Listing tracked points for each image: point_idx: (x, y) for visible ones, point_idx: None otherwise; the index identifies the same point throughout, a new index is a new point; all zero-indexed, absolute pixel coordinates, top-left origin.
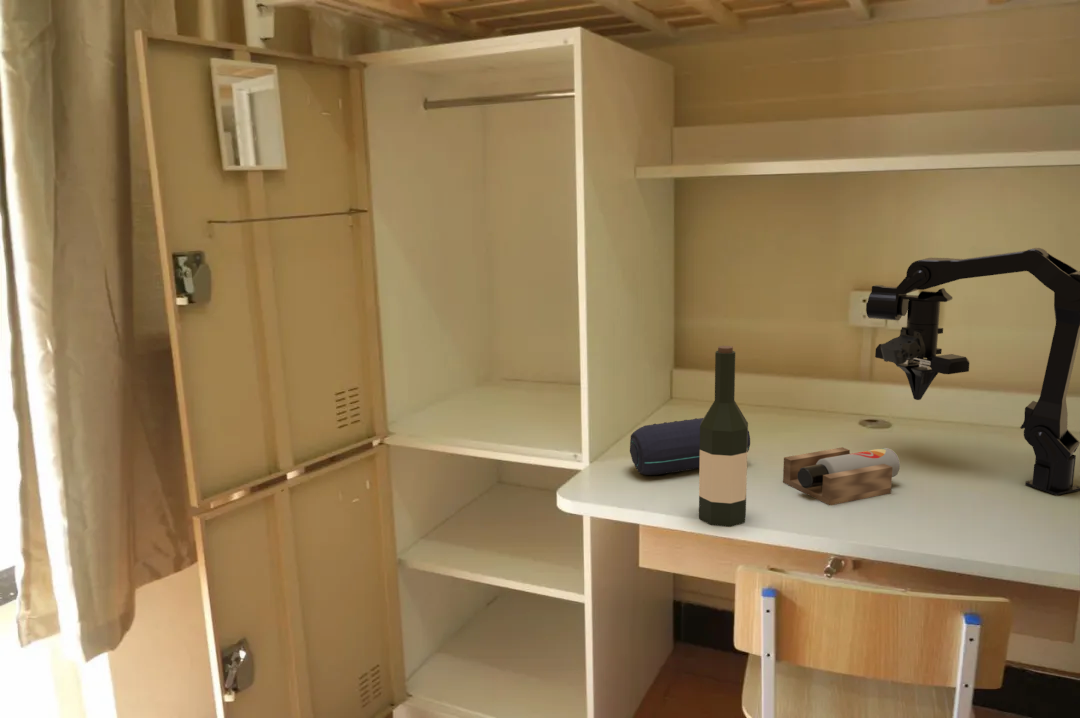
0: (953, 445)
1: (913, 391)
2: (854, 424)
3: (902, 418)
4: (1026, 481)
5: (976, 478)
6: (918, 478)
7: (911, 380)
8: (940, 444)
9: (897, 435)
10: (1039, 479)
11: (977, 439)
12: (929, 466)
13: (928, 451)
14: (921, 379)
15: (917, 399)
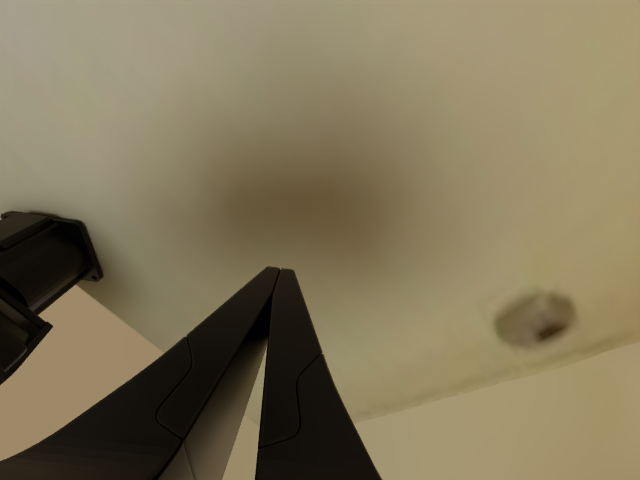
0: (333, 316)
1: (282, 298)
2: (579, 291)
3: (497, 374)
4: (78, 228)
5: (145, 177)
6: (191, 31)
7: (280, 377)
8: (353, 305)
9: (453, 294)
10: (15, 222)
11: (330, 362)
12: (261, 162)
13: (339, 254)
14: (102, 404)
15: (266, 269)
